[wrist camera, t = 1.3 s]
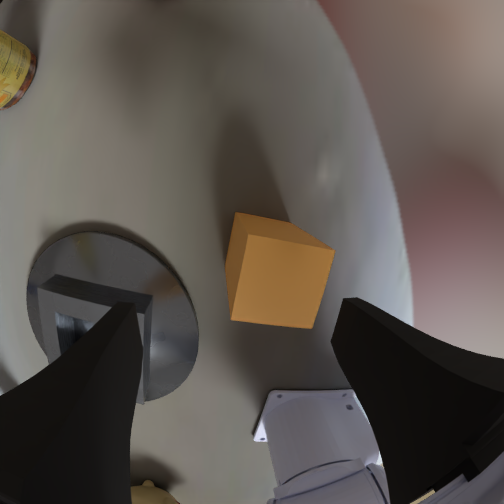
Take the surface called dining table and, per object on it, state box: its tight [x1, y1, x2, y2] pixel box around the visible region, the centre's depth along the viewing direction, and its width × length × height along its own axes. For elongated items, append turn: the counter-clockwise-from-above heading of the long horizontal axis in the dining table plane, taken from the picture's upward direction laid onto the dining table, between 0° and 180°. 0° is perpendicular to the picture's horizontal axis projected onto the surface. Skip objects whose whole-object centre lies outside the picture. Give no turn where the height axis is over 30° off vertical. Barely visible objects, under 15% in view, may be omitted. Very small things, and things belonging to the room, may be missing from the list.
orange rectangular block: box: [225, 212, 335, 329], centre depth 16 cm, size 4×4×8 cm
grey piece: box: [27, 231, 199, 404], centre depth 19 cm, size 16×24×4 cm, turn 168°
